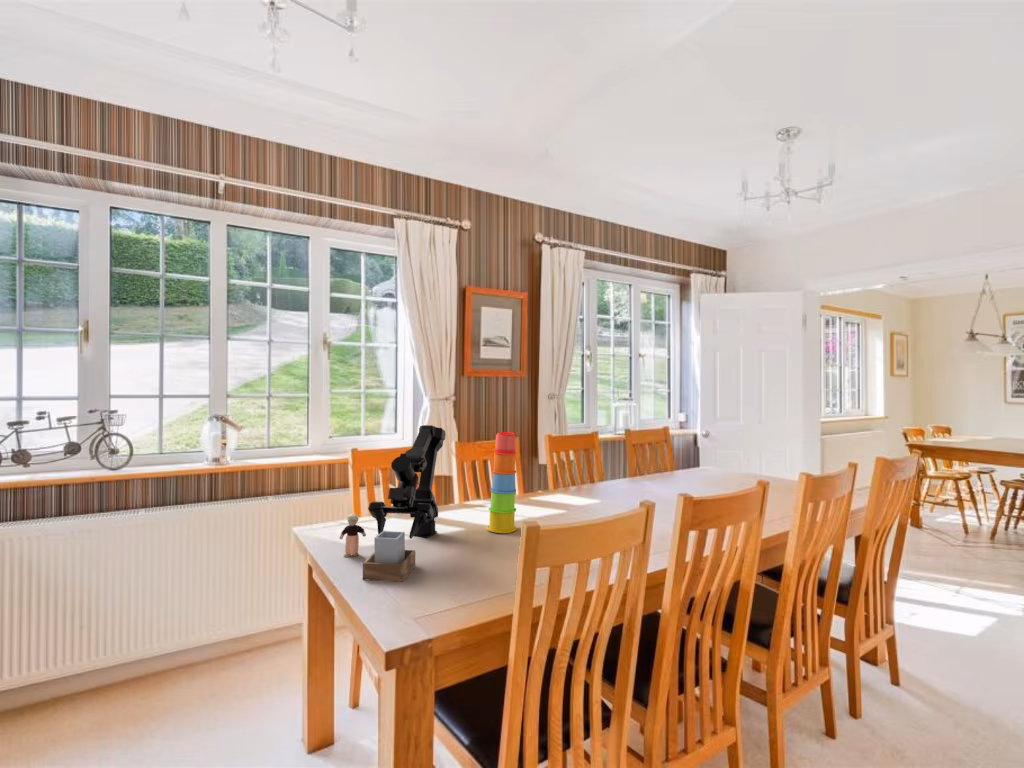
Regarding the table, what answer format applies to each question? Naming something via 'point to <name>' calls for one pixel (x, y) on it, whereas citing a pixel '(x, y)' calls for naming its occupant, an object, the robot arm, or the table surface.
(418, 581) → the table surface
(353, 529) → the grandmother figurine
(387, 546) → the grey upright prism
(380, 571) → the crate large
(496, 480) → the stacking cups
